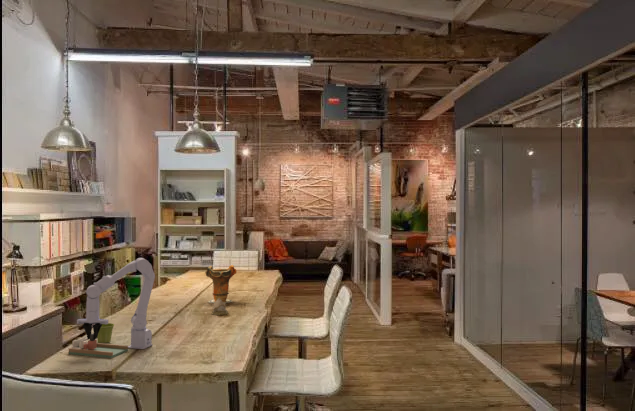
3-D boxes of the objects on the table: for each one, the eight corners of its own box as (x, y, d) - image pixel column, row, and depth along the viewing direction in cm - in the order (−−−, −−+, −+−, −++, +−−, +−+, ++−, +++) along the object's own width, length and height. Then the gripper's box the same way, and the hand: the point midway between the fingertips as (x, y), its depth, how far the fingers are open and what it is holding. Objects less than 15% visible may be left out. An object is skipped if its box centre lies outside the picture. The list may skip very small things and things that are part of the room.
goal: (93, 346, 241) (93, 336, 241) (81, 351, 233) (81, 340, 233) (84, 346, 242) (84, 335, 242) (72, 350, 234) (72, 340, 234)
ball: (81, 345, 240) (87, 349, 239) (75, 347, 236) (82, 351, 235) (84, 338, 240) (90, 341, 239) (78, 340, 236) (85, 344, 235)
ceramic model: (230, 314, 325) (230, 299, 325) (213, 315, 320) (213, 300, 320) (224, 310, 338) (225, 295, 338) (208, 311, 333) (208, 296, 333)
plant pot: (108, 338, 261) (108, 322, 261) (117, 341, 255) (117, 324, 255) (91, 342, 254) (91, 325, 254) (100, 345, 248) (100, 328, 248)
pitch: (127, 350, 239) (127, 345, 239) (111, 357, 227) (111, 352, 227) (86, 347, 244) (86, 342, 244) (68, 353, 233) (68, 348, 233)
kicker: (98, 347, 239) (98, 332, 239) (90, 350, 233) (90, 335, 233) (92, 346, 240) (92, 332, 240) (83, 349, 234) (83, 335, 234)
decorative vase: (202, 299, 376) (204, 262, 377) (232, 299, 383) (235, 263, 384) (204, 304, 356) (207, 265, 357) (236, 304, 363) (238, 266, 364)
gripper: (111, 309, 240) (111, 337, 240) (82, 308, 241) (81, 336, 241) (104, 312, 233) (104, 340, 233) (74, 311, 234) (74, 340, 234)
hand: (92, 338), depth 236 cm, fingers closed on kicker, 2 cm apart
